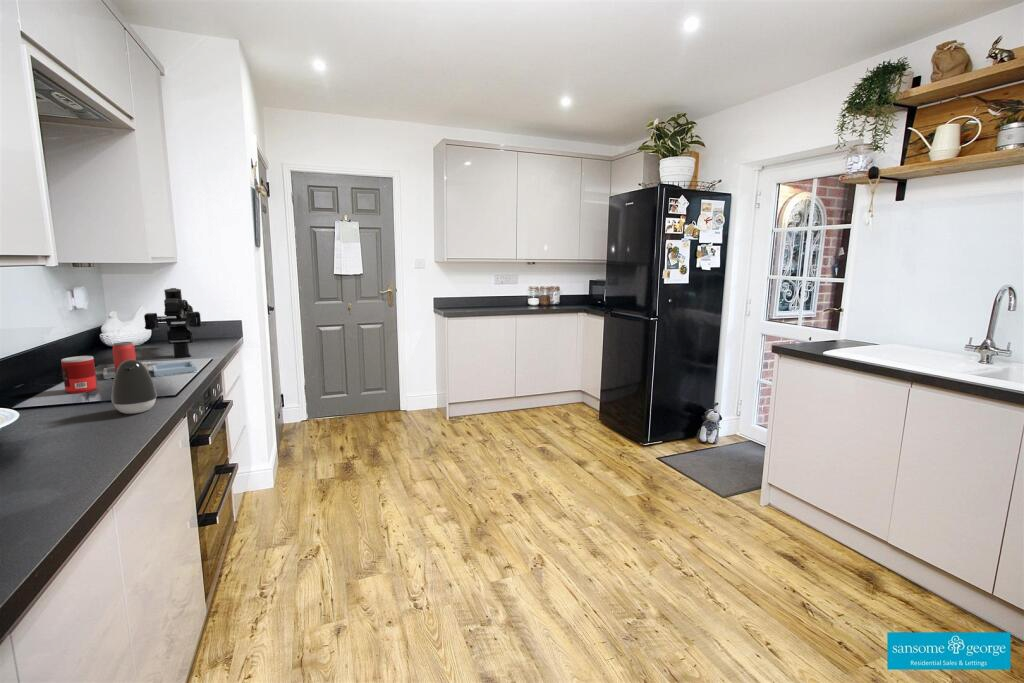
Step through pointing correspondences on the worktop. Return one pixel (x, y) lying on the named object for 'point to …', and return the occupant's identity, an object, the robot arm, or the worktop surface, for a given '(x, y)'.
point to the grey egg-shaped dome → (133, 388)
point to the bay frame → (112, 375)
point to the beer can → (123, 353)
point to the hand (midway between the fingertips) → (171, 326)
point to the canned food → (79, 374)
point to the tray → (173, 368)
